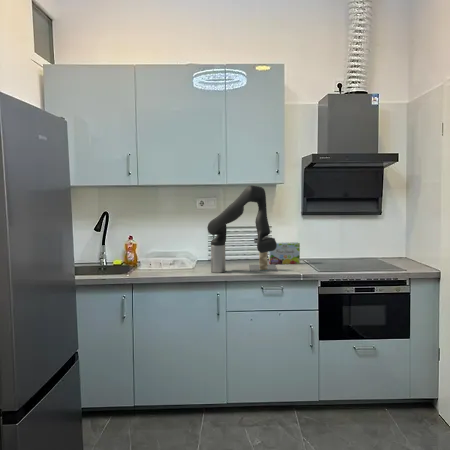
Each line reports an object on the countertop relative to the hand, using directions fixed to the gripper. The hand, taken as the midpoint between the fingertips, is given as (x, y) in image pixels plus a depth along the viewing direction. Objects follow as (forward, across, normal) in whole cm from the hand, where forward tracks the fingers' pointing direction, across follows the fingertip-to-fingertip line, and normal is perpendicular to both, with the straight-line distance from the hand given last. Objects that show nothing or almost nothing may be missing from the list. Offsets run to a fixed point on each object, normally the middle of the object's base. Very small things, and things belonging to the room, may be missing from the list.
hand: (263, 239), depth 265 cm
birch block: (+10, 0, +21) cm, 23 cm away
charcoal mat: (+17, 0, +22) cm, 28 cm away
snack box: (+38, -16, +22) cm, 47 cm away
